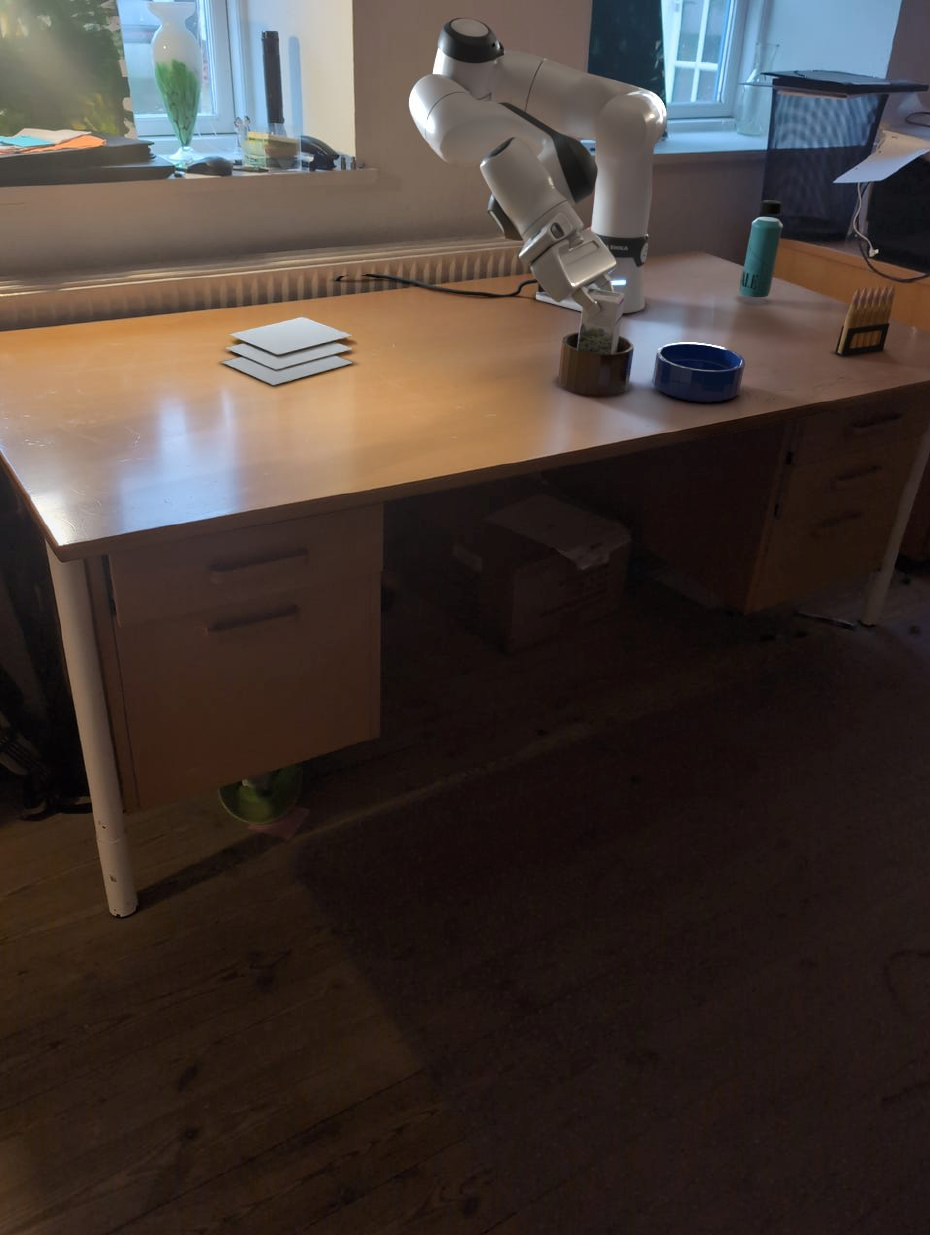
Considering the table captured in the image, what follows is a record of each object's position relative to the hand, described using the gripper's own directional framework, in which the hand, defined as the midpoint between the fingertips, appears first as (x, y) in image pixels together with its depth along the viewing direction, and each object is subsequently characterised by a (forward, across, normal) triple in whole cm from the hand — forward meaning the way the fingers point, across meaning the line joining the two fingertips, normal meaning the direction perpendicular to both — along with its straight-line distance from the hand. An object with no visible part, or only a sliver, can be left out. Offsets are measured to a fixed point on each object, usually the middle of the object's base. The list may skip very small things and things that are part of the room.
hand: (605, 308), depth 160 cm
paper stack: (-27, +16, -45) cm, 55 cm away
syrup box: (+8, 0, -9) cm, 13 cm away
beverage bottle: (+15, -68, -3) cm, 70 cm away
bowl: (+19, -8, +1) cm, 21 cm away
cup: (+8, 0, -9) cm, 13 cm away
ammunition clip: (+33, -46, +15) cm, 59 cm away
